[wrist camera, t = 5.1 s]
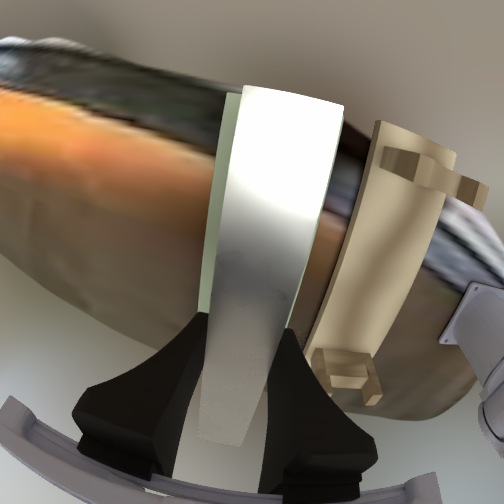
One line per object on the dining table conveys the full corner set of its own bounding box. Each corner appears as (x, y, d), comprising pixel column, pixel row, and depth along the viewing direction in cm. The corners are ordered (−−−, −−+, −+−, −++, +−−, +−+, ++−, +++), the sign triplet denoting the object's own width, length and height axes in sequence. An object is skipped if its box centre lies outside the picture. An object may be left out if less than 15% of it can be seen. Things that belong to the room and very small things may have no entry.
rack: (448, 151, 17) (500, 165, 11) (359, 366, 26) (371, 414, 20) (375, 120, 17) (417, 119, 11) (298, 360, 26) (301, 413, 20)
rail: (252, 96, 10) (244, 84, 7) (326, 112, 10) (343, 106, 7) (205, 406, 18) (197, 438, 16) (244, 413, 18) (240, 446, 16)
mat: (342, 116, 17) (344, 116, 16) (276, 354, 26) (275, 358, 26) (228, 93, 17) (227, 92, 16) (196, 339, 26) (195, 342, 26)
